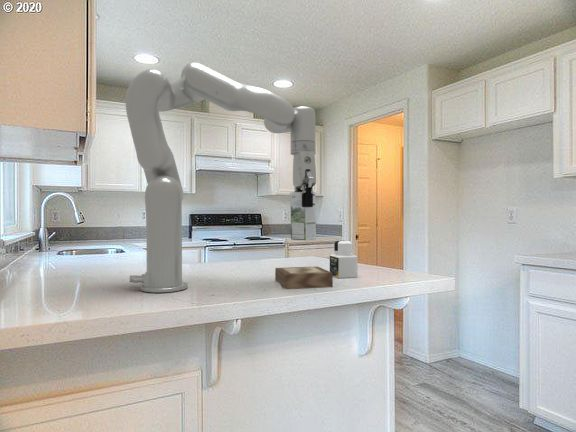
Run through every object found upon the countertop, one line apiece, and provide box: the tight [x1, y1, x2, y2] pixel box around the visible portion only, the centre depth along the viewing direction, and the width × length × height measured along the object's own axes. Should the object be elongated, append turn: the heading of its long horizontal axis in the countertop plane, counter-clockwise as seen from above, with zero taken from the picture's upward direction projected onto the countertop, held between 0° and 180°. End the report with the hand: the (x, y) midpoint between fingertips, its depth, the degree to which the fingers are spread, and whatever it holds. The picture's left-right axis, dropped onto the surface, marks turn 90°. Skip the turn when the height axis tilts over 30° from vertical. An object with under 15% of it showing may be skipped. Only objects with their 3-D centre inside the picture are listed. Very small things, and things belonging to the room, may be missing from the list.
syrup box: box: [289, 191, 317, 241], centre depth 118 cm, size 6×6×14 cm
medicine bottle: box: [329, 240, 358, 279], centre depth 131 cm, size 7×7×12 cm
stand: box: [274, 266, 334, 290], centre depth 118 cm, size 14×14×4 cm
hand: (303, 207), depth 118 cm, fingers closed on syrup box, 8 cm apart
